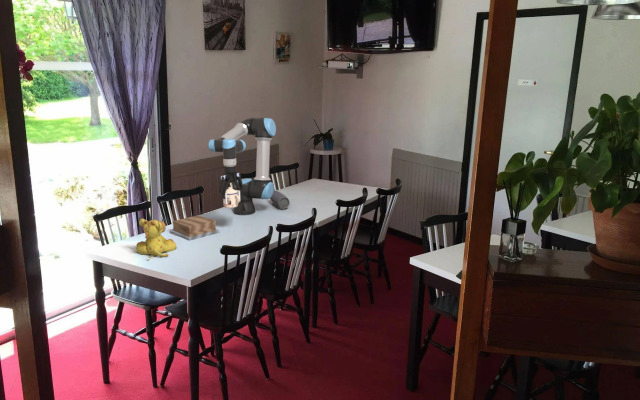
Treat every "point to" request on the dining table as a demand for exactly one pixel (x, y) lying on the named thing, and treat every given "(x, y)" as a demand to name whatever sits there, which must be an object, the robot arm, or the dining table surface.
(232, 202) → the teacup with lid
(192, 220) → the plinth
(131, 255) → the dining table surface
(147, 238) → the giraffe plush
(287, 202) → the bluetooth speaker
